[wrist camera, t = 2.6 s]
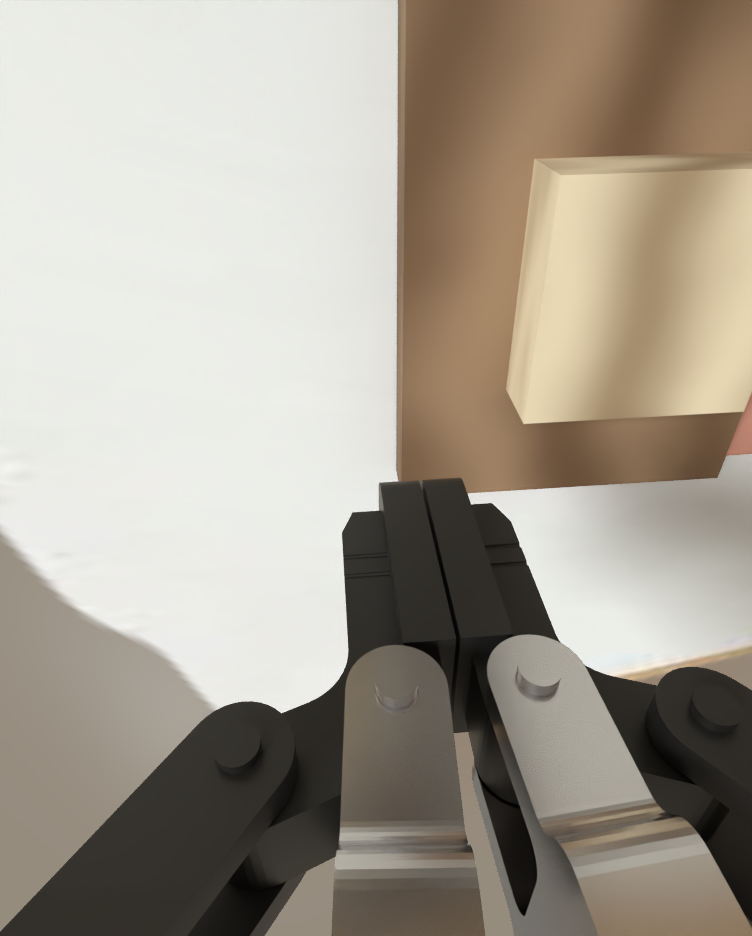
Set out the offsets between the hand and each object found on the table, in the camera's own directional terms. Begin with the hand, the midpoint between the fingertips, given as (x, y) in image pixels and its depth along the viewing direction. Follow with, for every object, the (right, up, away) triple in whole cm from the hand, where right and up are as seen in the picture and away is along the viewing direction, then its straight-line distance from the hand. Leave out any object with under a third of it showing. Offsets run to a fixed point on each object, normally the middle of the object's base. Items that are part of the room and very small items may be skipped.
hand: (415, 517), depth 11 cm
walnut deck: (+7, +9, +11) cm, 16 cm away
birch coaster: (+8, +7, +10) cm, 15 cm away
